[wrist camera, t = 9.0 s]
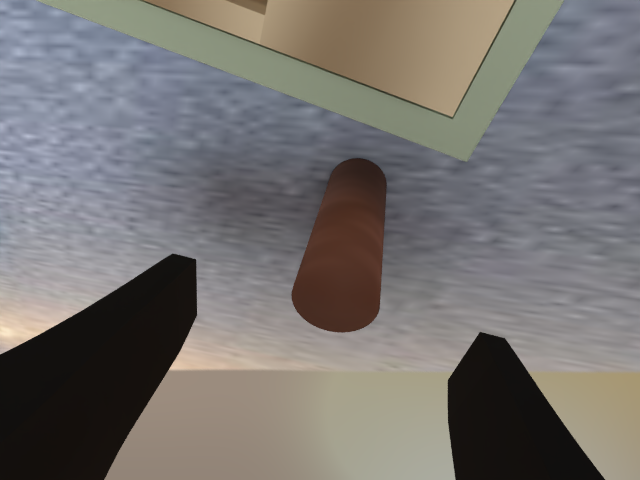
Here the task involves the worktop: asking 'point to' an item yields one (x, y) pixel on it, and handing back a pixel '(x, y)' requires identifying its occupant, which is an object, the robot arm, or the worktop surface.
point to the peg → (345, 251)
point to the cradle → (334, 89)
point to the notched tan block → (369, 38)
